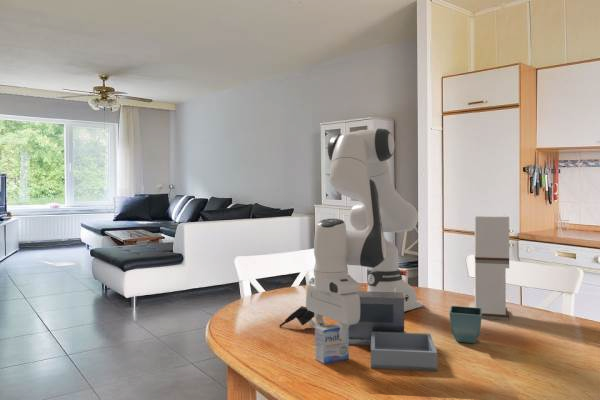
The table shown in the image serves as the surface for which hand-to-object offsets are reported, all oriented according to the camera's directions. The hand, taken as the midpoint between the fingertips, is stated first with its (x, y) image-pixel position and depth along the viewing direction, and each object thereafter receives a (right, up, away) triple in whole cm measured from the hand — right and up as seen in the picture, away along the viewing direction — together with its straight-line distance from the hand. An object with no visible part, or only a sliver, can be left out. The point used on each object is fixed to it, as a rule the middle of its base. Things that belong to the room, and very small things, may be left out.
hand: (331, 334), depth 126 cm
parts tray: (+19, -6, 0) cm, 20 cm away
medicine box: (0, -7, 0) cm, 7 cm away
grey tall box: (+59, -6, +43) cm, 73 cm away
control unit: (+14, -6, +16) cm, 22 cm away
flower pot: (+40, -6, +15) cm, 44 cm away
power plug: (-13, -8, +31) cm, 34 cm away
